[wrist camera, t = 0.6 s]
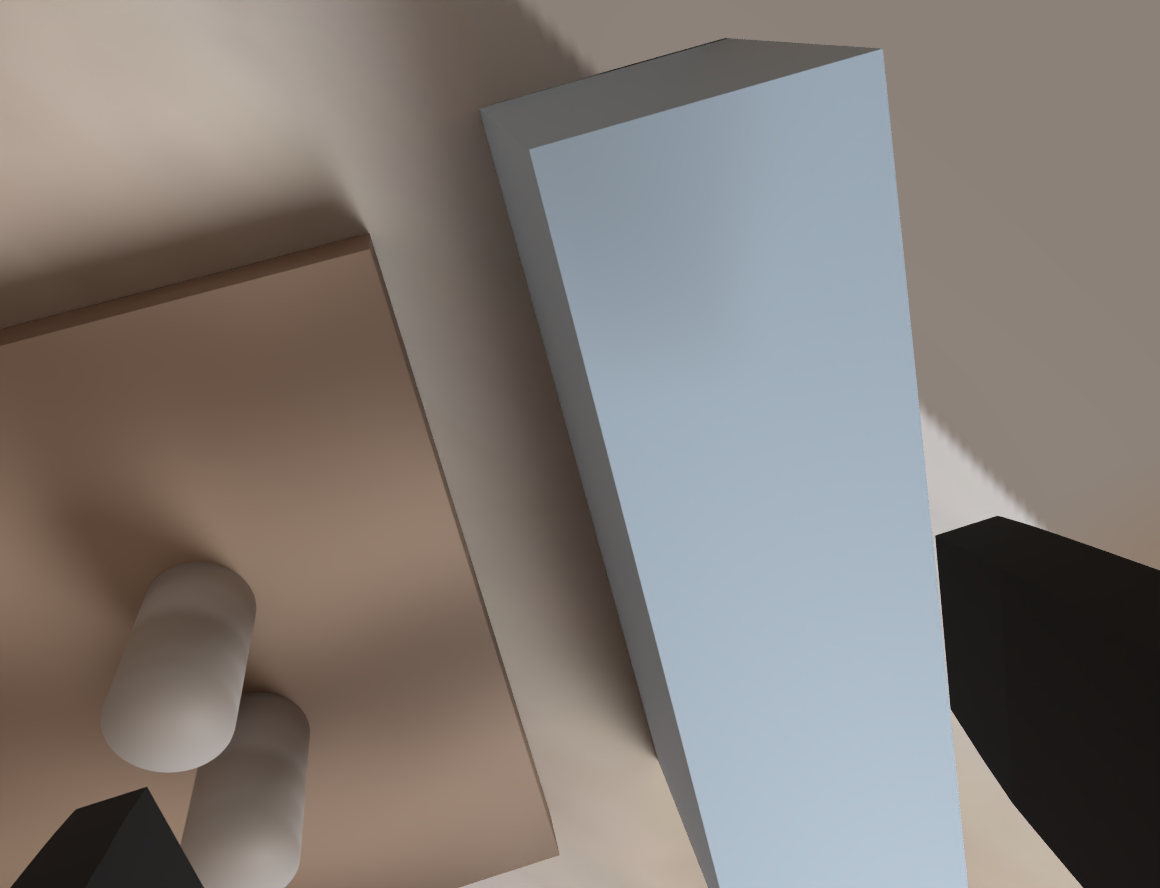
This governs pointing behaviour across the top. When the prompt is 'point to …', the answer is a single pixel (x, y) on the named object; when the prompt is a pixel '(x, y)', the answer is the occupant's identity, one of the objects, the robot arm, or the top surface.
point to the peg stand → (250, 591)
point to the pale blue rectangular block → (751, 445)
